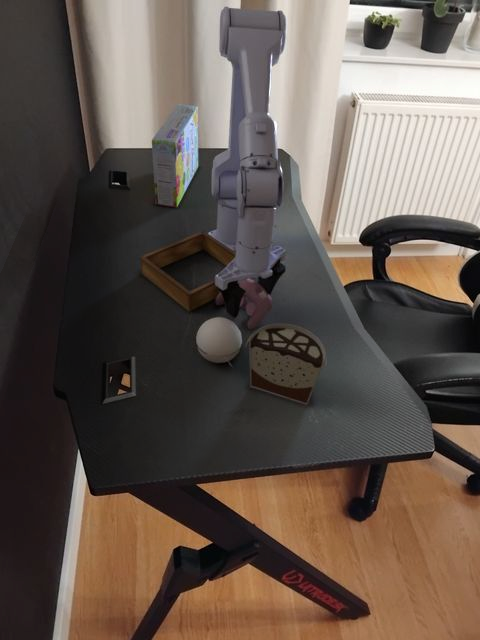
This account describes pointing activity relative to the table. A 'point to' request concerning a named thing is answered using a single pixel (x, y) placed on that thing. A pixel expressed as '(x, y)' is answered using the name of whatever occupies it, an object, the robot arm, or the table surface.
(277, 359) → the brown and beige cupcake
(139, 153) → the table surface
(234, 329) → the seamed sphere
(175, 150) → the snack box
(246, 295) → the video game controller
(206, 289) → the wooden frame
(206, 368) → the table surface
